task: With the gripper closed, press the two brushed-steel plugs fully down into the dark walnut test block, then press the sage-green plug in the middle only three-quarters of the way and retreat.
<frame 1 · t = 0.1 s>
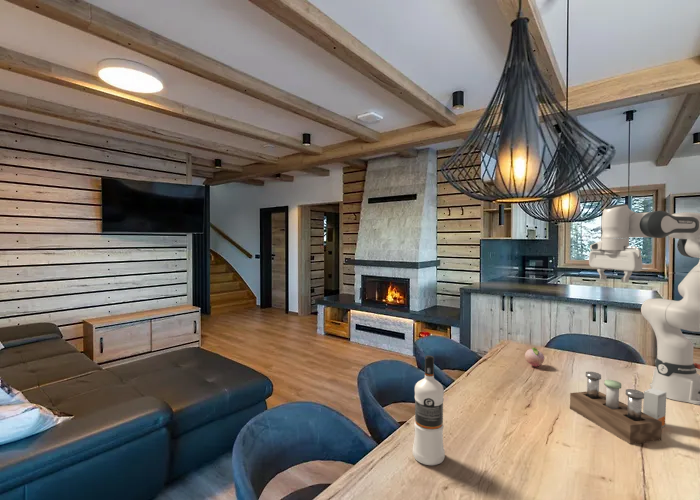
hand: (613, 280, 142), 48 cm above the table, fingers open, 8 cm apart
skincare box: (654, 426, 125), on the table
plug 1: (593, 386, 134), point 10 cm above the table, slide at 0.0 cm
plug 2: (634, 405, 118), point 10 cm above the table, slide at 0.0 cm
vodka: (428, 457, 106), on the table
test block: (611, 423, 126), on the table
plug mid: (612, 395, 126), point 10 cm above the table, slide at 0.0 cm
decorative fruit: (533, 367, 181), on the table
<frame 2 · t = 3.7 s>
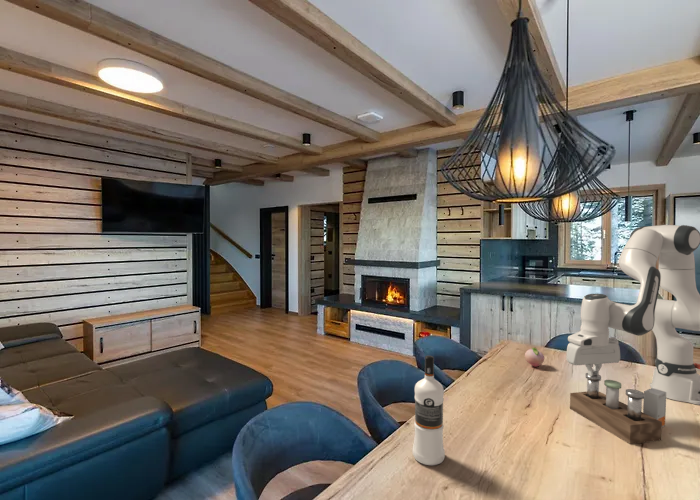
hand: (593, 375, 133), 14 cm above the table, fingers closed, pressing on plug 1
plug 1: (593, 387, 134), point 9 cm above the table, slide at 0.5 cm, touching gripper
everything else where it was.
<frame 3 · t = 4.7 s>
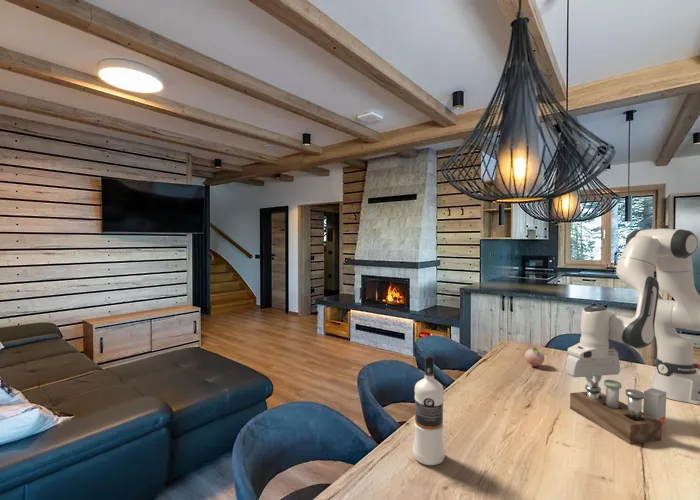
hand: (592, 386, 134), 10 cm above the table, fingers closed, pressing on plug 1
plug 1: (592, 399, 134), point 5 cm above the table, slide at 4.9 cm, touching gripper
everything else where it was.
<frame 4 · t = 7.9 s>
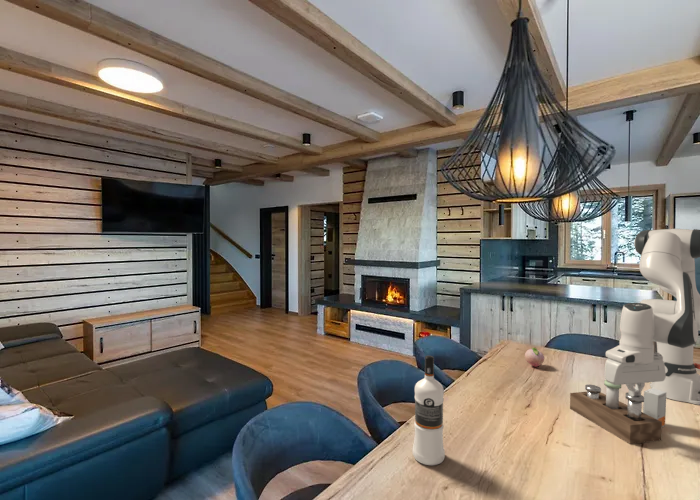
hand: (634, 395, 118), 13 cm above the table, fingers closed, pressing on plug 2
plug 1: (592, 399, 134), point 5 cm above the table, slide at 4.9 cm
plug 2: (634, 409, 118), point 9 cm above the table, slide at 1.2 cm, touching gripper
everything else where it was.
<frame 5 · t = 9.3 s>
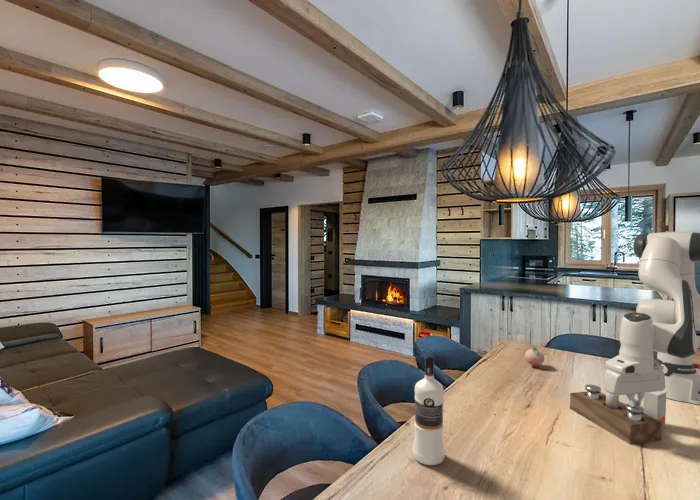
hand: (634, 405, 118), 10 cm above the table, fingers closed
plug 2: (634, 420, 118), point 5 cm above the table, slide at 4.9 cm
everything else where it was.
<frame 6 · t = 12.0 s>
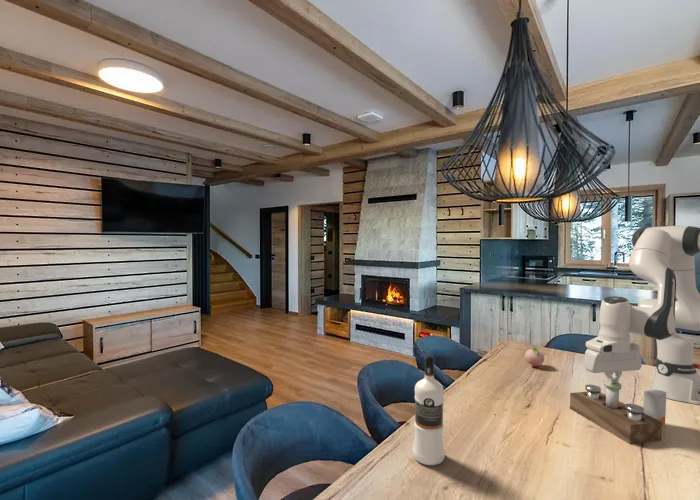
hand: (612, 383, 126), 14 cm above the table, fingers closed, pressing on plug mid
plug mid: (612, 396, 126), point 9 cm above the table, slide at 0.3 cm, touching gripper
everything else where it was.
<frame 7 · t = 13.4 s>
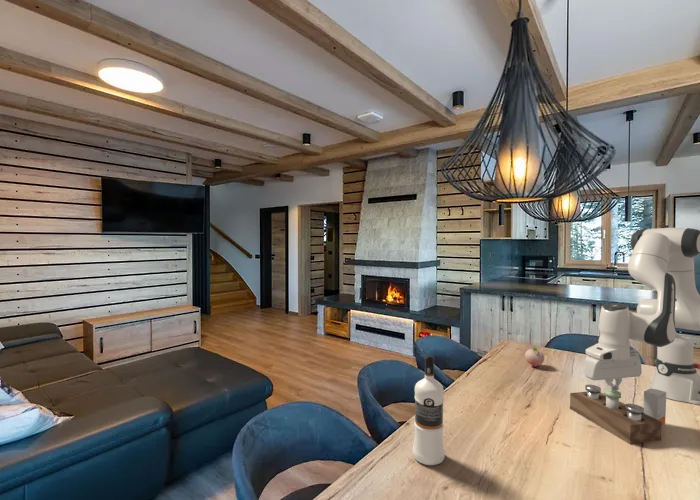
hand: (612, 390, 126), 12 cm above the table, fingers closed
plug mid: (612, 404, 126), point 6 cm above the table, slide at 3.3 cm
everything else where it was.
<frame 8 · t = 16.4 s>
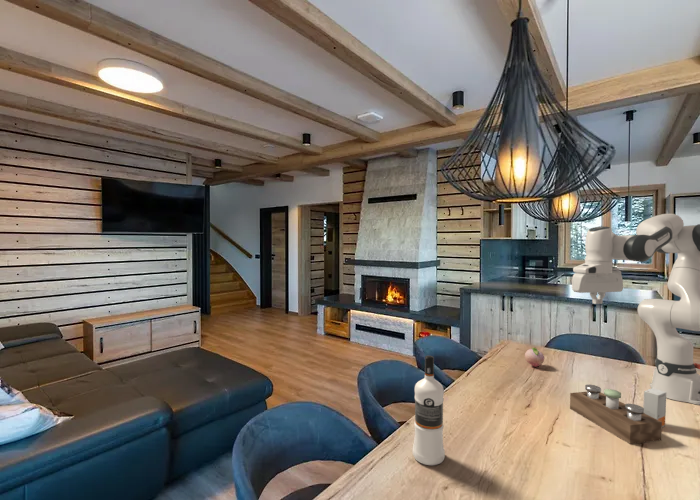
hand: (597, 303, 141), 39 cm above the table, fingers closed
nothing on the table moved.
at the end: plug 1 slide at 4.9 cm; plug 2 slide at 4.9 cm; plug mid slide at 3.3 cm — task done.
